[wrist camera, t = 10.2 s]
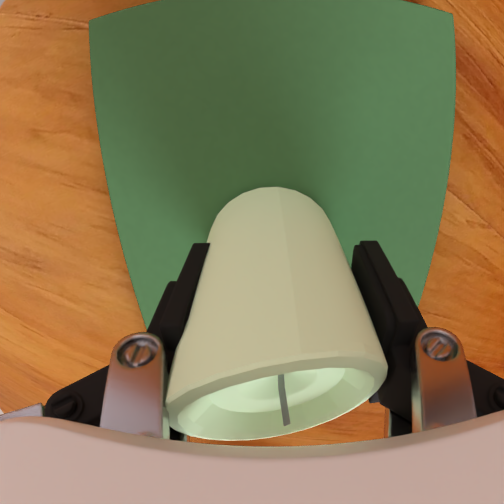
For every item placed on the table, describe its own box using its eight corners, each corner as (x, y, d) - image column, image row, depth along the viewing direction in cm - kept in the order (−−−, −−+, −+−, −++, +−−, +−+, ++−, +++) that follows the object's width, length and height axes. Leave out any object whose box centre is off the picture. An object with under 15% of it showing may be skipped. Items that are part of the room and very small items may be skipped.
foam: (110, 25, 10) (87, 20, 8) (431, 19, 9) (453, 13, 7) (174, 362, 20) (167, 385, 18) (383, 360, 19) (389, 383, 17)
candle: (356, 250, 13) (428, 426, 6) (264, 312, 15) (265, 485, 7) (280, 158, 11) (316, 316, 4) (184, 239, 13) (115, 421, 6)
